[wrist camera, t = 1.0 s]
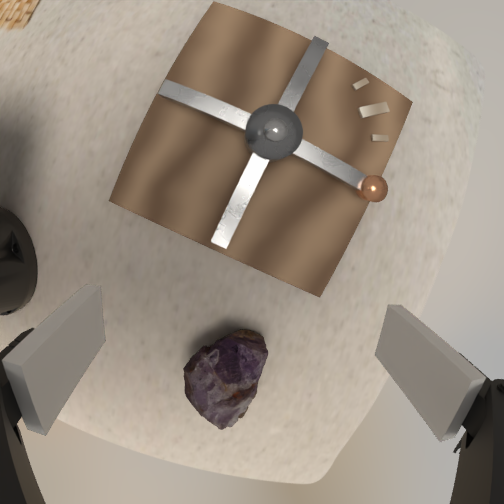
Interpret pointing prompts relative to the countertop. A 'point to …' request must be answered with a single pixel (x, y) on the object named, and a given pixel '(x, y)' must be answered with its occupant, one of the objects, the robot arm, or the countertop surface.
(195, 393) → the rock
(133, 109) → the countertop surface
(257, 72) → the board
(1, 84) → the countertop surface
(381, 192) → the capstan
